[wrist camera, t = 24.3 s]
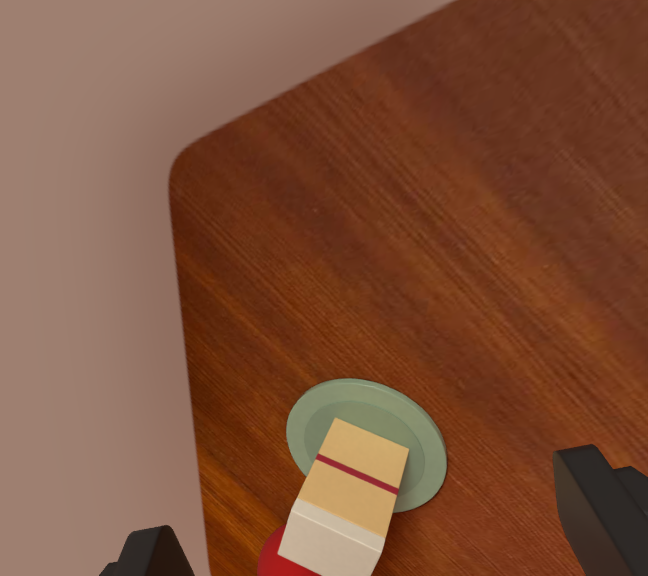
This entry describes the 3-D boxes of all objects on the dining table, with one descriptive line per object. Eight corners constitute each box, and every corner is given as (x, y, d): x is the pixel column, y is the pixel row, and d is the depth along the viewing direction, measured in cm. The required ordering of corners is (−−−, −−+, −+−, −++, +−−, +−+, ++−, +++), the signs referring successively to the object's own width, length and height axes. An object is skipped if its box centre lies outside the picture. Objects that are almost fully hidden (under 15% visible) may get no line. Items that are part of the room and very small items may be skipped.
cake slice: (334, 416, 38) (290, 510, 31) (410, 448, 37) (382, 552, 30) (321, 458, 40) (276, 554, 33) (391, 489, 39) (361, 595, 32)
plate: (267, 384, 39) (263, 390, 39) (425, 371, 34) (423, 377, 34) (316, 505, 43) (314, 512, 43) (464, 509, 39) (463, 516, 38)
